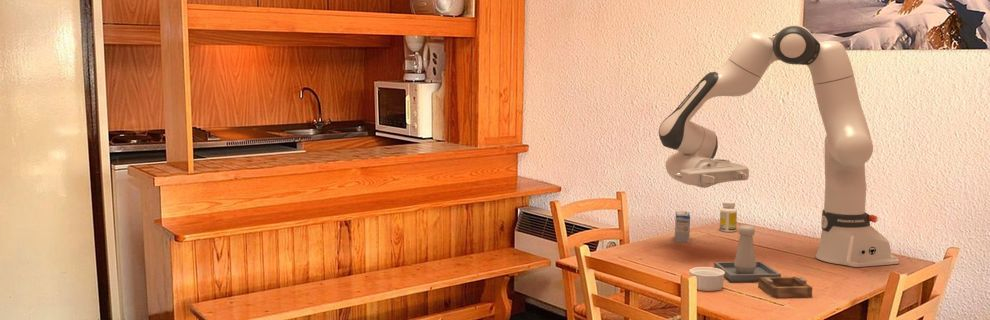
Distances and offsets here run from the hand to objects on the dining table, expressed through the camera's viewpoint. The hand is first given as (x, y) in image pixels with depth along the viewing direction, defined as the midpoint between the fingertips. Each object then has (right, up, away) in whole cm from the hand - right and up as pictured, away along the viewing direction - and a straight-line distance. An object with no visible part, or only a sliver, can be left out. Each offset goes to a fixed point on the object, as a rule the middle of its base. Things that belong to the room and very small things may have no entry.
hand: (730, 178), depth 242 cm
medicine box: (-6, -20, +36) cm, 42 cm away
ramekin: (-11, -28, -18) cm, 35 cm away
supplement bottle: (+13, -19, +49) cm, 54 cm away
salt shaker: (+2, -26, -7) cm, 27 cm away
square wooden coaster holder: (+8, -28, -22) cm, 37 cm away
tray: (+3, -26, -7) cm, 27 cm away
